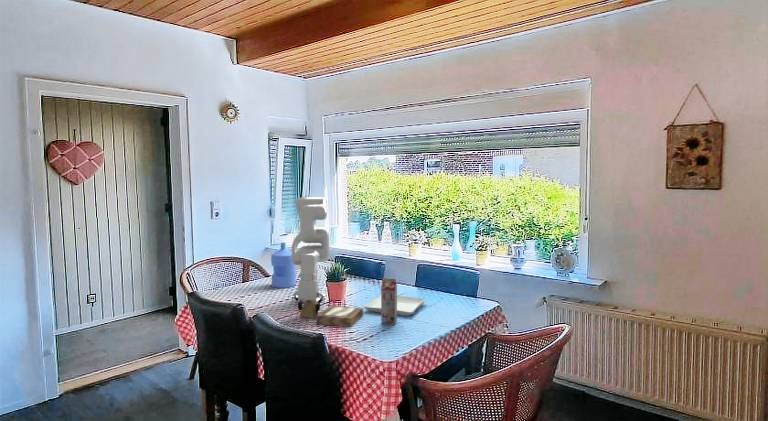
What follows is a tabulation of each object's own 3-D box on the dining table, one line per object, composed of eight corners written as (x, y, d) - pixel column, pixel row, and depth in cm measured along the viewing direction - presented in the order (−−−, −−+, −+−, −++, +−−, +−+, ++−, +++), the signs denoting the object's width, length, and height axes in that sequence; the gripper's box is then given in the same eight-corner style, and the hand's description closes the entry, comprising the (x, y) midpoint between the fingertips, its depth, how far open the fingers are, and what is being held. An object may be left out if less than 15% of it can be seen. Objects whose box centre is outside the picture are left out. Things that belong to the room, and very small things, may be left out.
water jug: (288, 281, 326) (287, 240, 323) (300, 285, 314) (299, 243, 312) (267, 285, 315) (266, 243, 313) (279, 289, 304) (278, 245, 301)
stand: (316, 323, 235) (316, 315, 235) (330, 313, 252) (330, 305, 252) (351, 326, 230) (351, 318, 230) (362, 315, 247) (362, 307, 247)
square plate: (362, 313, 253) (362, 305, 253) (382, 300, 279) (382, 293, 279) (411, 318, 244) (411, 311, 243) (427, 304, 269) (427, 298, 269)
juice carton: (394, 324, 233) (394, 280, 231) (381, 324, 234) (381, 279, 232) (396, 320, 239) (396, 277, 237) (383, 320, 240) (383, 276, 238)
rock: (324, 313, 243) (319, 306, 252) (314, 302, 240) (310, 294, 249) (307, 327, 242) (303, 319, 251) (297, 316, 238) (293, 308, 247)
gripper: (289, 277, 243) (290, 311, 244) (321, 279, 238) (321, 313, 239) (296, 274, 250) (296, 307, 251) (327, 276, 245) (327, 309, 246)
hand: (309, 310), depth 245 cm, fingers closed on rock, 9 cm apart
